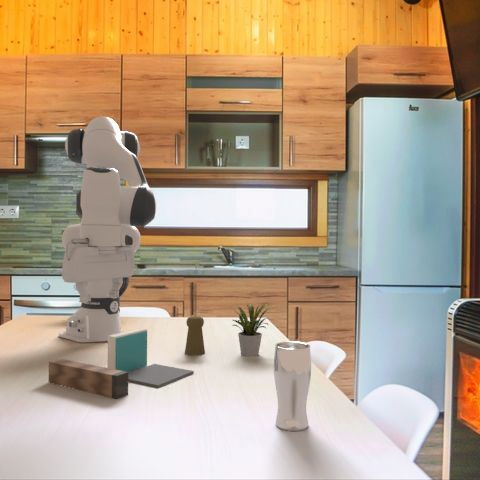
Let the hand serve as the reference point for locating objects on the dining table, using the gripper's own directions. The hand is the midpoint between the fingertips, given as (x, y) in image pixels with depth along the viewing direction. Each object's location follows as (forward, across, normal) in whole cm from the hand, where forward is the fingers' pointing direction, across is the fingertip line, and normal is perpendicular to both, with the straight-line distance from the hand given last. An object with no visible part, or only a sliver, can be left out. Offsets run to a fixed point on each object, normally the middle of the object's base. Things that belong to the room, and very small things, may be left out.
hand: (100, 300), depth 110 cm
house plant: (+21, +48, -18) cm, 55 cm away
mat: (+20, +16, -4) cm, 26 cm away
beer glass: (+21, +1, -45) cm, 50 cm away
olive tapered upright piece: (+21, +41, -1) cm, 46 cm away
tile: (+21, +17, +5) cm, 27 cm away
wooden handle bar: (+21, 0, +4) cm, 21 cm away
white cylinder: (+20, +78, +65) cm, 103 cm away
